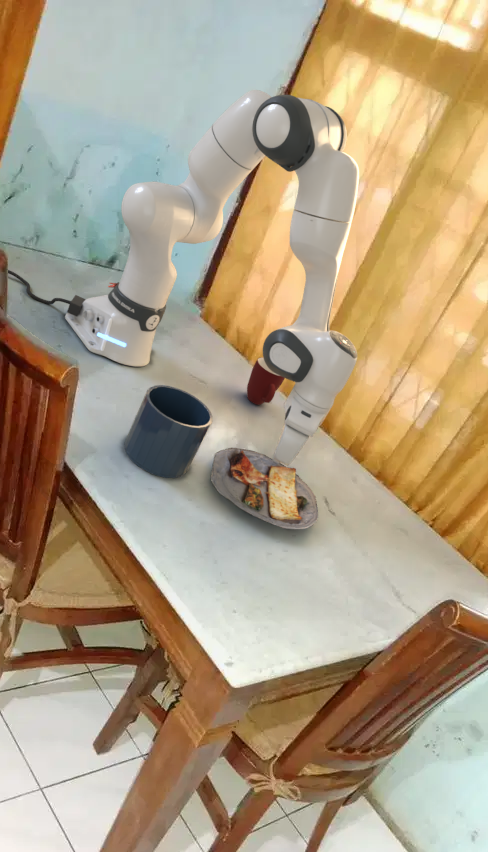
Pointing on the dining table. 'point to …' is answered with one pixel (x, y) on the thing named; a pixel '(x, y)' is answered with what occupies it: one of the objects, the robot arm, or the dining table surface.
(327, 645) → the dining table surface
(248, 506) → the food plate
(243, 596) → the dining table surface
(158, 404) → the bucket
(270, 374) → the mug
